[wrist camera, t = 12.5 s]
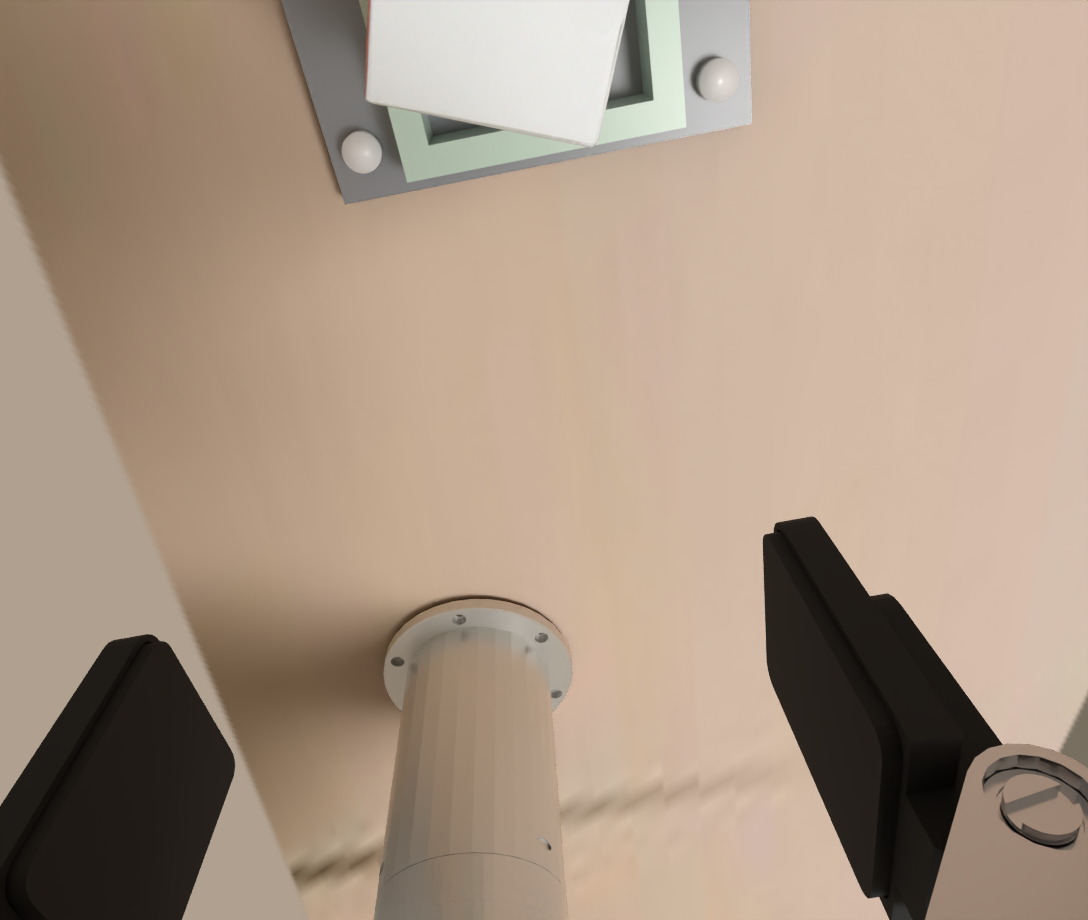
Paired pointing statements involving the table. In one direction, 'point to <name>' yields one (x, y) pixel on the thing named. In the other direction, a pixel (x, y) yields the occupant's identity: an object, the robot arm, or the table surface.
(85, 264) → the table surface
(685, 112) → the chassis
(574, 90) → the small box
